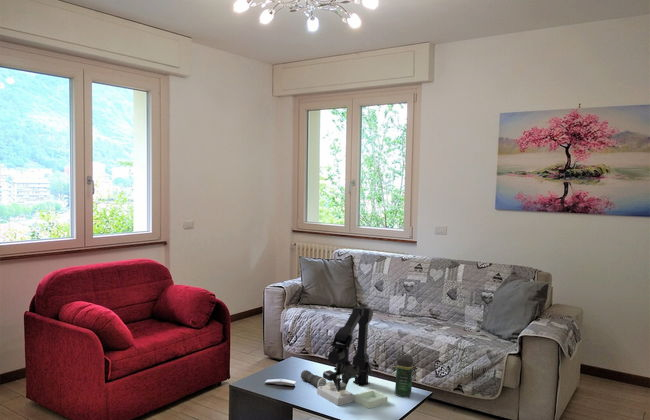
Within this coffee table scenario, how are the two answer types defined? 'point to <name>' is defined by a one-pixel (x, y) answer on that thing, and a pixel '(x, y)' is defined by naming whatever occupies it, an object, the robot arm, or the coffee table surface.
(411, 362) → the coffee jar
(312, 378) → the flashlight
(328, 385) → the block
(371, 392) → the parts tray
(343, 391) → the block
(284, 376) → the coffee table surface
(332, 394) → the fuse block
